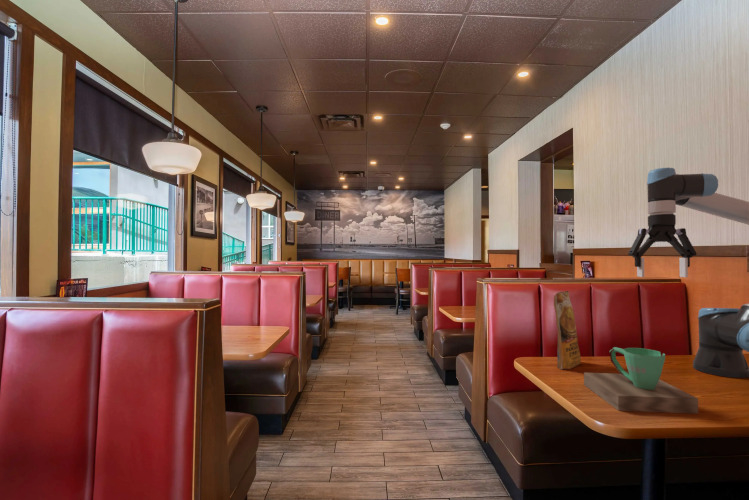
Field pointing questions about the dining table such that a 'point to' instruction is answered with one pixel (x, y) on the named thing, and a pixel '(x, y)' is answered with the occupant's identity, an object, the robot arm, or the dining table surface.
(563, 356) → the pancake mix bag
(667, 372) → the dining table surface
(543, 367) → the dining table surface
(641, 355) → the mug
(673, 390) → the plinth
